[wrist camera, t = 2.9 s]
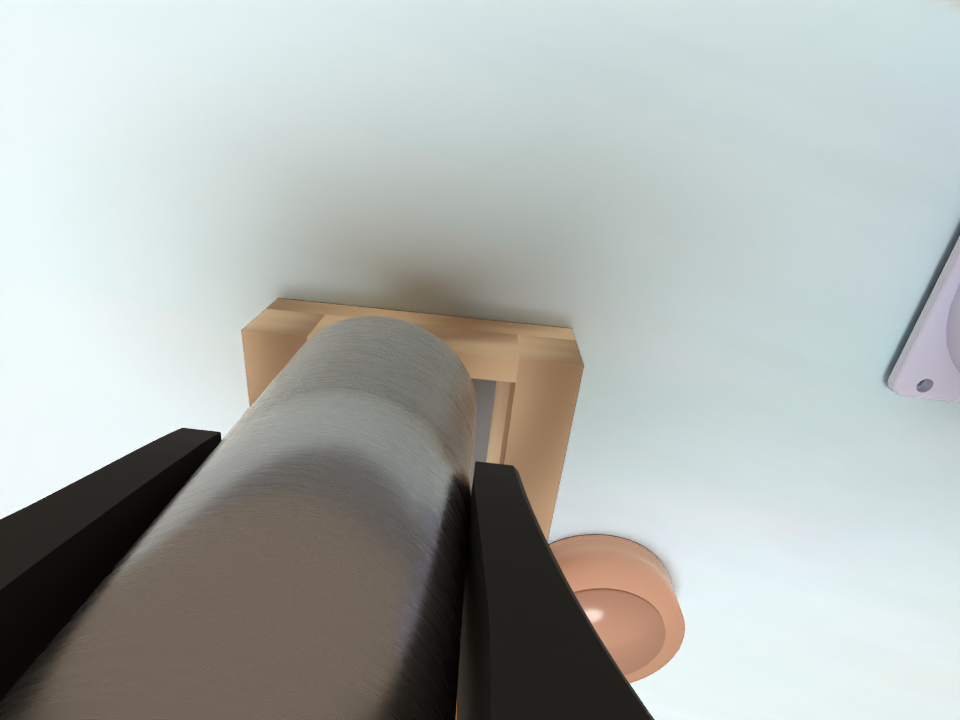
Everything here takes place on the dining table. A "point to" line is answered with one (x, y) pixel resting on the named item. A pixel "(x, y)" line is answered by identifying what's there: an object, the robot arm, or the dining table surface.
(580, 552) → the dish
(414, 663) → the cell
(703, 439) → the dining table surface
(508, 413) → the board
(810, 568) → the dining table surface
